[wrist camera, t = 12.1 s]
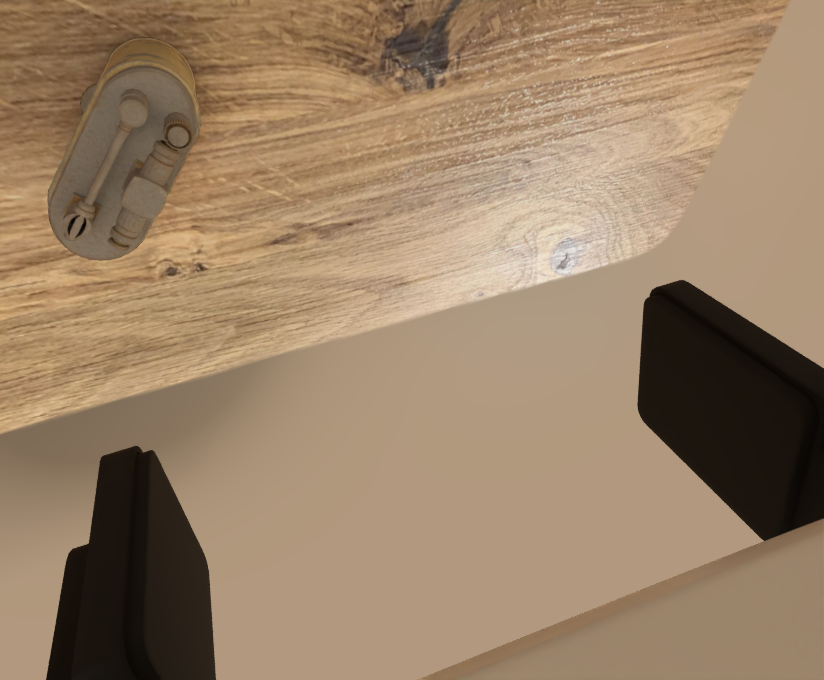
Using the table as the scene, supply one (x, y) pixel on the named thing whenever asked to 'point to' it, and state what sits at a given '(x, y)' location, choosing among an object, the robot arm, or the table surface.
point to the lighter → (125, 150)
